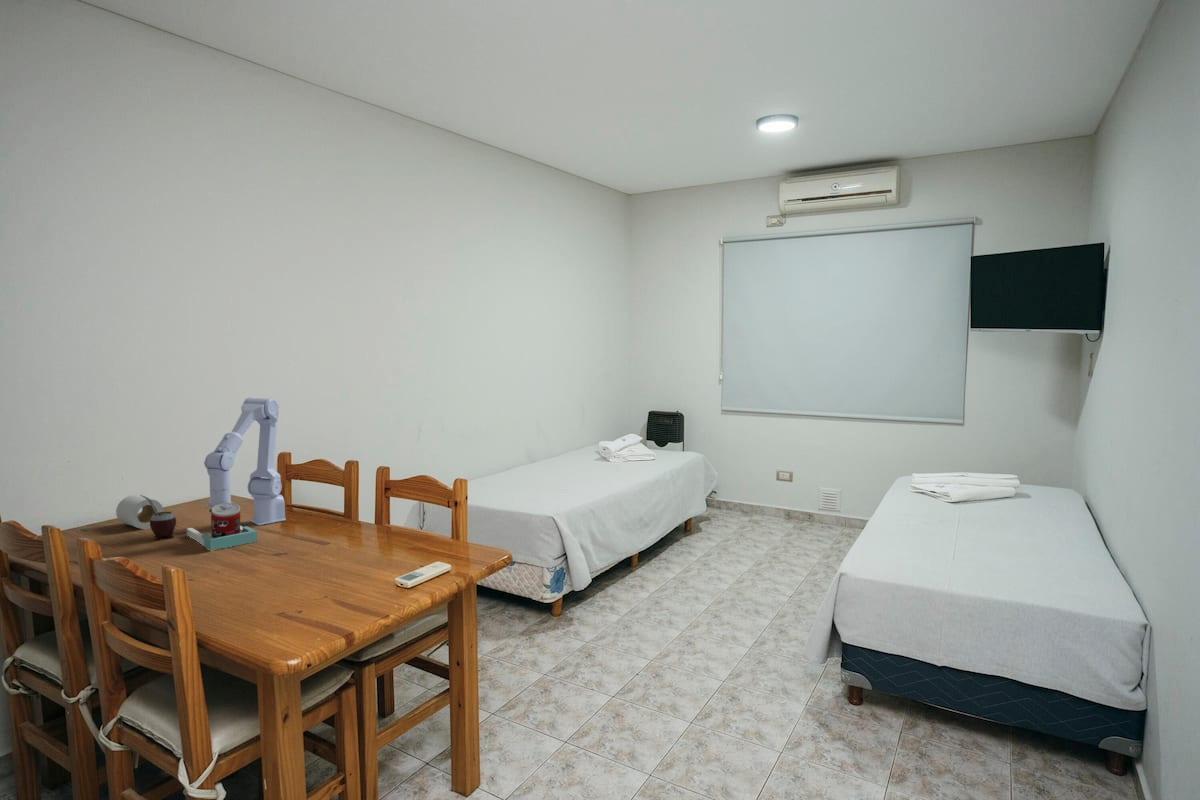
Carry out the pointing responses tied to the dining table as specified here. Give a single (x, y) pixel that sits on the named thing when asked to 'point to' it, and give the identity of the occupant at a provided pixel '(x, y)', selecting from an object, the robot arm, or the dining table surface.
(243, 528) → the teal white rectangular tray
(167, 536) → the mate gourd
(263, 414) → the robot arm
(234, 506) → the canned food
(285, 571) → the dining table surface
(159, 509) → the toilet paper
